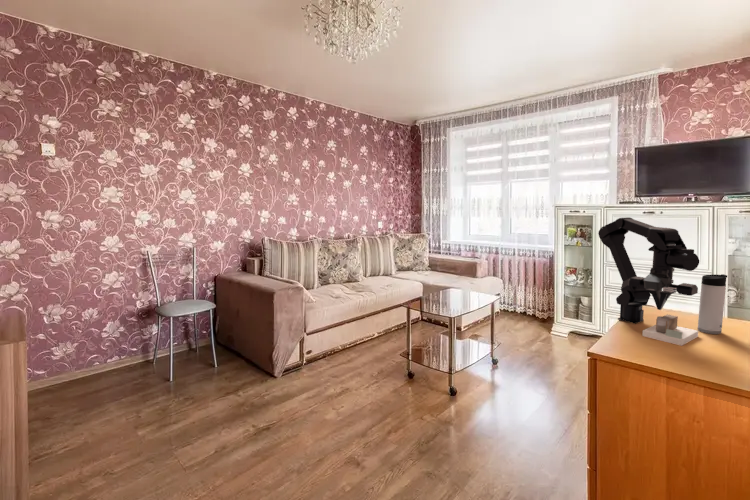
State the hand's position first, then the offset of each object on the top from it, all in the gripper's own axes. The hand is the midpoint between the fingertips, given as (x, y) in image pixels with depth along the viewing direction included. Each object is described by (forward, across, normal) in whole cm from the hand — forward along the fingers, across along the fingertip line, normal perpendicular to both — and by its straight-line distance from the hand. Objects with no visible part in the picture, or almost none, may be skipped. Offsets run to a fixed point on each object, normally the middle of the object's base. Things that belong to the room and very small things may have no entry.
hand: (659, 309), depth 133 cm
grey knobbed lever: (+6, +3, -3) cm, 7 cm away
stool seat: (+8, +4, -2) cm, 9 cm away
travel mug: (+8, +10, +13) cm, 19 cm away
